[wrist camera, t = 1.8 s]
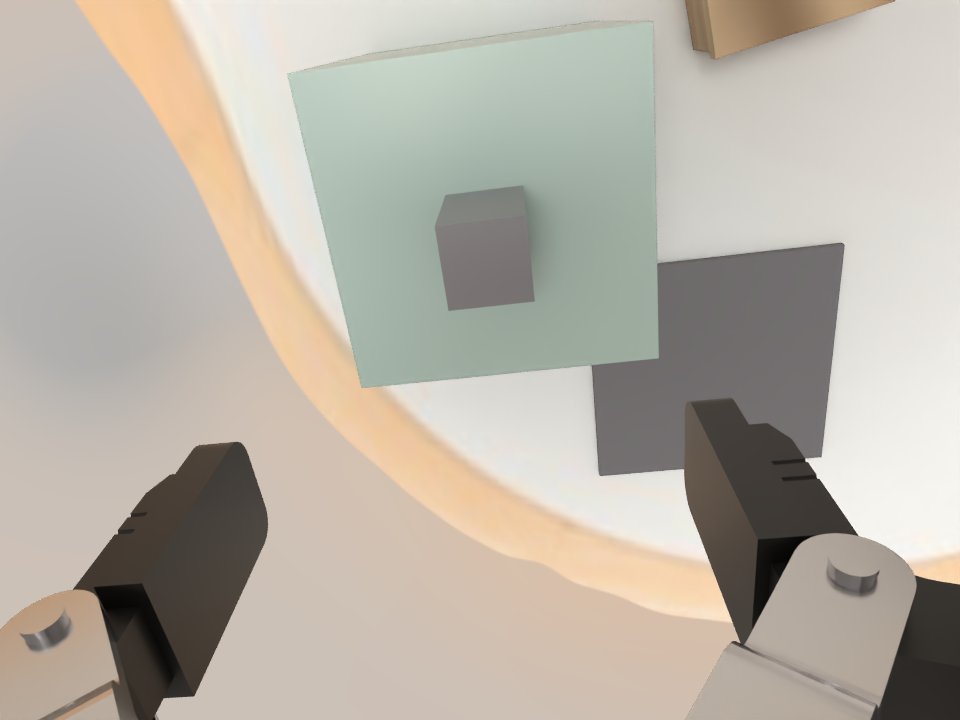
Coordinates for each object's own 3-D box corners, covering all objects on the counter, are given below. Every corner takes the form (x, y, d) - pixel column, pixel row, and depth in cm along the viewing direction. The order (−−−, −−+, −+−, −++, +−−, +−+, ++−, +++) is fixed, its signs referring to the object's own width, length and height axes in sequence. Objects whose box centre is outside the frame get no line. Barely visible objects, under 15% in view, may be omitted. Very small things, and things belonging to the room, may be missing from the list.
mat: (841, 242, 43) (844, 244, 42) (819, 453, 50) (821, 456, 49) (585, 271, 44) (586, 273, 44) (599, 472, 51) (599, 476, 51)
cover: (596, 21, 38) (683, 21, 19) (608, 246, 43) (683, 412, 25) (367, 54, 39) (244, 84, 20) (408, 269, 44) (339, 444, 26)
